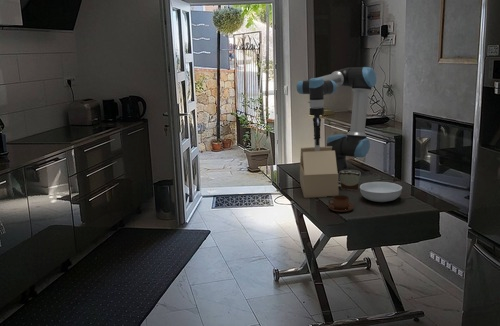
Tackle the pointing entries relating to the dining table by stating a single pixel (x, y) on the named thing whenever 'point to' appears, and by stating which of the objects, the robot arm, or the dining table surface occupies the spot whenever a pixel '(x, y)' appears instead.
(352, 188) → the food container
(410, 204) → the dining table surface
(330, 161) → the flap
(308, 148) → the flap
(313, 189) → the carton
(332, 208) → the cup and saucer
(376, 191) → the serving bowl
